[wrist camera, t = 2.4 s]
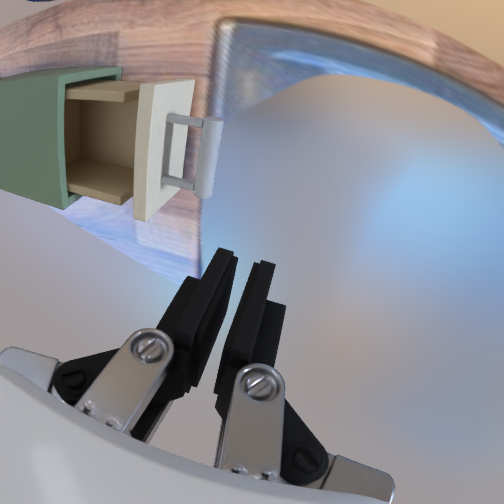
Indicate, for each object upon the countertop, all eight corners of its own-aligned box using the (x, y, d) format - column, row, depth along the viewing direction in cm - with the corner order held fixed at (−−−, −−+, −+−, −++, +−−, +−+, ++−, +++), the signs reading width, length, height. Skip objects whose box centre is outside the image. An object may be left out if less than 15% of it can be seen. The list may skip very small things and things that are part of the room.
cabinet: (122, 66, 23) (58, 75, 16) (116, 174, 30) (63, 210, 23) (36, 70, 24) (-20, 84, 17) (37, 157, 30) (-12, 185, 23)
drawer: (244, 87, 22) (217, 93, 16) (223, 199, 28) (196, 237, 22) (84, 72, 23) (34, 83, 17) (81, 165, 29) (39, 190, 23)
